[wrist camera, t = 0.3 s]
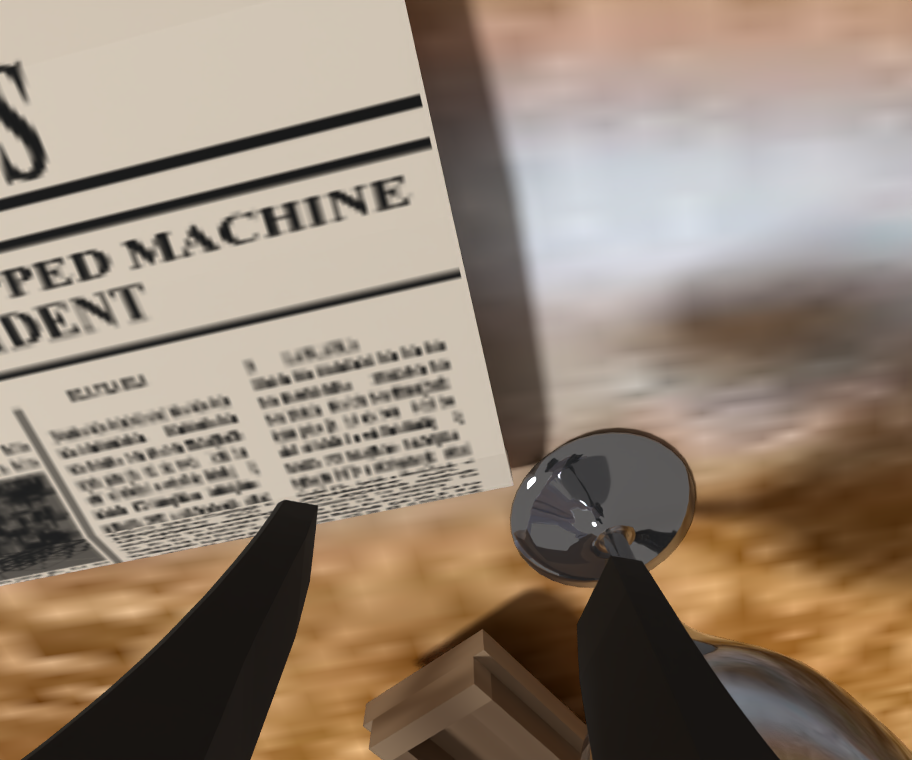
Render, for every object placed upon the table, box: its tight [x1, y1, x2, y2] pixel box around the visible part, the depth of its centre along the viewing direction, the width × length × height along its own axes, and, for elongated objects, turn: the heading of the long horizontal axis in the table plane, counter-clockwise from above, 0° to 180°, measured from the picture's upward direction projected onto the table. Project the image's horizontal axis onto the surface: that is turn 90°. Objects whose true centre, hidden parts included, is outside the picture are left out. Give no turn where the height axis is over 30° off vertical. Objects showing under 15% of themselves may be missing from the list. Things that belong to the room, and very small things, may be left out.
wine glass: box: [510, 432, 912, 760], centre depth 17 cm, size 8×8×15 cm
